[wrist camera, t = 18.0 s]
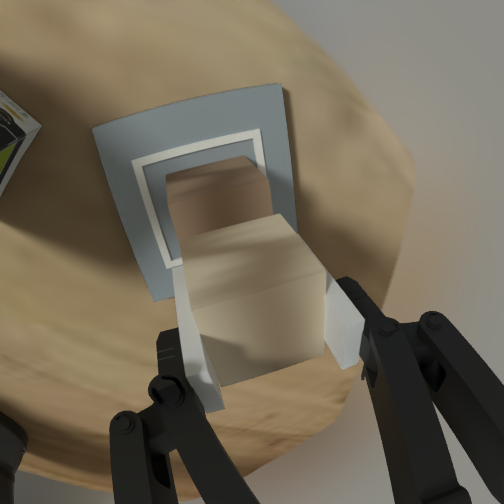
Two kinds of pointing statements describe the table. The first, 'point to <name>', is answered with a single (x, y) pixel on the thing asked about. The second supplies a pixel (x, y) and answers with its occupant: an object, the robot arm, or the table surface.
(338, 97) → the table surface
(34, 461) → the table surface
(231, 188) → the walnut cube
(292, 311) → the oak cube
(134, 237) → the board
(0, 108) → the tea box
